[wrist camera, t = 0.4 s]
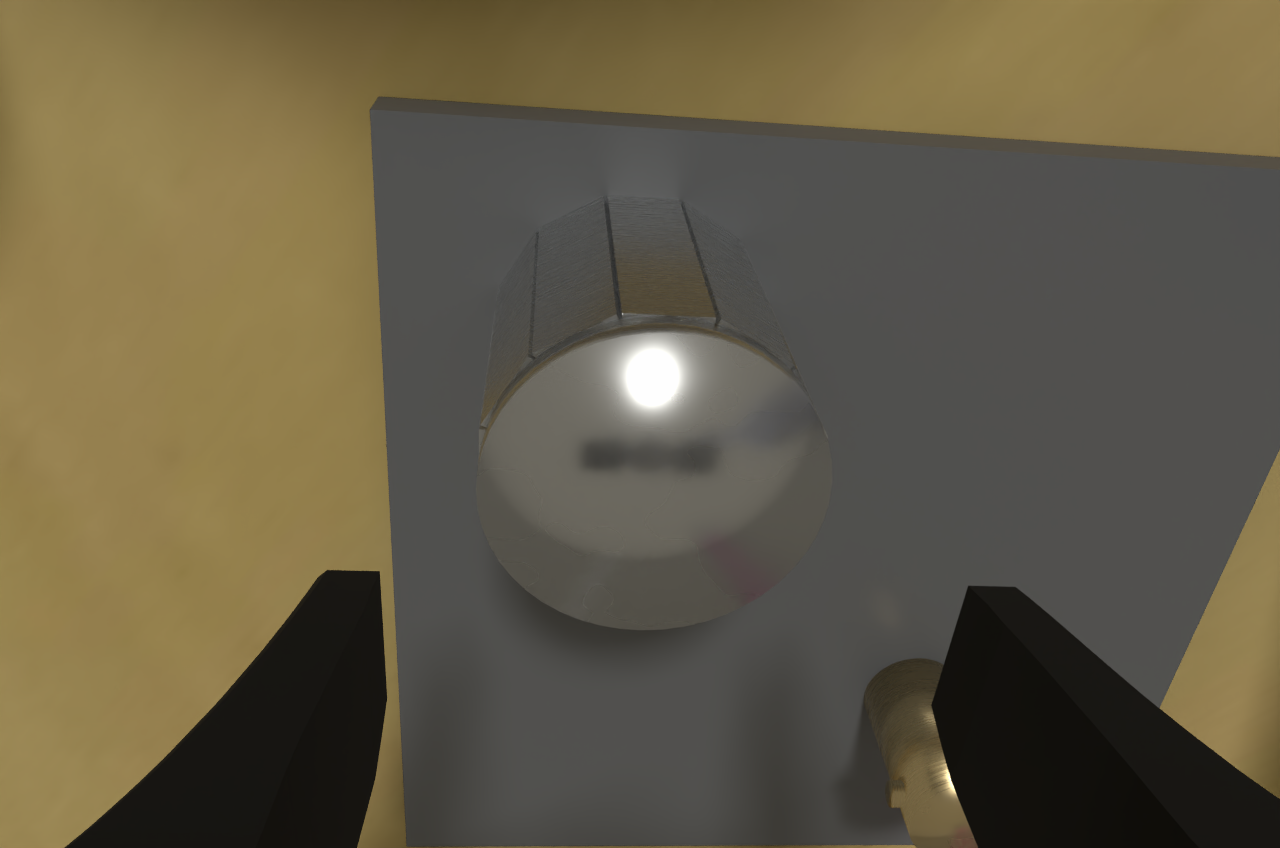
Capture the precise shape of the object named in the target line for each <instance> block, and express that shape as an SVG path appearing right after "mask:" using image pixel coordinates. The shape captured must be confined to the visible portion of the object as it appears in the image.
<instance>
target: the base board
mask: <svg viewBox="0 0 1280 848" xmlns="http://www.w3.org/2000/svg"><path fill="white" fill-rule="evenodd" d="M370 120H371V140H372V160H373V180H374V200H375V220H376V240H377V260H378V280H379V300H380V321H381V341H382V361H383V381H384V401H385V421H386V441H387V461H388V481H389V501H390V522H391V542H392V562H393V582H394V602H395V622H396V642H397V662H398V682H399V703H400V723H401V743H402V763H403V783H404V803H405V823H406V843H407V847H420V846H719V845H914V844H913V842H912V841H911V838H910V836H909V833H908V830H907V827H906V824H905V821H904V818H903V815H902V812H901V810H900V808H890V807H889V806H888V804H887V801H886V796H885V786H886V782H887V781H888V780H890V778H889V775H888V772H887V769H886V766H885V763H884V760H883V757H882V754H881V751H880V749H879V746H878V743H877V740H876V737H875V734H874V731H873V728H872V725H871V722H870V719H869V717H868V714H867V711H866V708H865V705H864V693H865V690H866V687H867V685H868V684H869V682H870V681H871V679H872V678H873V677H874V676H875V675H876V674H877V673H879V672H880V671H881V670H883V669H884V668H886V667H888V666H889V665H891V664H894V663H896V662H899V661H903V660H907V659H915V658H922V659H930V660H934V661H937V662H939V663H941V664H943V665H944V662H945V659H946V656H947V652H948V649H949V646H950V643H951V640H952V636H953V633H954V630H955V627H956V623H957V620H958V617H959V614H960V610H961V607H962V604H963V601H964V598H965V594H966V591H967V588H968V586H1005V587H1016V588H1018V589H1019V590H1020V591H1021V592H1023V593H1024V594H1025V595H1026V596H1028V597H1029V598H1030V599H1031V600H1033V601H1034V602H1035V603H1036V604H1038V605H1039V606H1040V607H1041V608H1042V609H1043V610H1045V611H1046V612H1047V613H1048V614H1049V615H1051V616H1052V617H1053V618H1054V619H1055V620H1056V621H1058V622H1059V623H1060V624H1061V625H1062V626H1063V627H1064V628H1066V629H1067V630H1068V631H1069V632H1070V633H1071V634H1073V635H1074V636H1075V637H1076V638H1077V639H1078V640H1079V641H1081V642H1082V643H1083V644H1084V645H1085V646H1086V647H1088V648H1089V649H1090V650H1091V651H1092V652H1093V653H1094V654H1096V655H1097V656H1098V657H1099V658H1100V659H1101V660H1103V661H1104V662H1105V663H1106V664H1107V665H1108V666H1110V667H1111V668H1112V669H1113V670H1114V671H1115V672H1117V673H1118V674H1119V675H1120V676H1121V677H1122V678H1124V679H1125V680H1126V681H1127V682H1128V683H1129V684H1131V685H1132V686H1133V687H1134V688H1135V689H1137V690H1138V691H1139V692H1140V693H1141V694H1143V695H1144V696H1145V697H1146V698H1147V699H1149V700H1150V701H1151V702H1152V703H1153V704H1155V705H1156V706H1157V707H1158V708H1160V705H1161V703H1162V701H1163V699H1164V697H1165V695H1166V693H1167V690H1168V688H1169V686H1170V684H1171V682H1172V680H1173V677H1174V675H1175V673H1176V671H1177V669H1178V667H1179V665H1180V662H1181V660H1182V658H1183V656H1184V654H1185V652H1186V649H1187V647H1188V645H1189V643H1190V641H1191V639H1192V637H1193V634H1194V632H1195V630H1196V628H1197V626H1198V624H1199V621H1200V619H1201V617H1202V615H1203V613H1204V611H1205V609H1206V606H1207V604H1208V602H1209V600H1210V598H1211V596H1212V594H1213V591H1214V589H1215V587H1216V585H1217V583H1218V581H1219V578H1220V576H1221V574H1222V572H1223V570H1224V568H1225V566H1226V563H1227V561H1228V559H1229V557H1230V555H1231V553H1232V550H1233V548H1234V546H1235V544H1236V542H1237V540H1238V538H1239V535H1240V533H1241V531H1242V529H1243V527H1244V525H1245V523H1246V520H1247V518H1248V516H1249V514H1250V512H1251V510H1252V507H1253V505H1254V503H1255V501H1256V499H1257V497H1258V495H1259V492H1260V490H1261V488H1262V486H1263V484H1264V482H1265V479H1266V477H1267V475H1268V473H1269V471H1270V469H1271V467H1272V464H1273V462H1274V460H1275V458H1276V456H1277V454H1278V451H1279V449H1280V157H1266V156H1251V155H1237V154H1222V153H1207V152H1192V151H1177V150H1162V149H1148V148H1133V147H1118V146H1103V145H1088V144H1074V143H1059V142H1044V141H1029V140H1014V139H999V138H985V137H970V136H955V135H940V134H925V133H911V132H896V131H881V130H866V129H851V128H836V127H822V126H807V125H792V124H777V123H762V122H748V121H733V120H718V119H703V118H688V117H673V116H659V115H644V114H629V113H614V112H599V111H584V110H570V109H555V108H540V107H525V106H510V105H496V104H481V103H466V102H451V101H436V100H421V99H407V98H392V97H378V98H377V100H376V101H375V103H374V104H373V106H372V107H371V109H370ZM608 195H614V196H631V197H647V198H664V199H679V201H680V204H681V203H682V202H683V201H684V202H686V203H687V204H689V205H690V206H692V207H693V208H695V209H696V210H698V211H699V212H701V213H702V214H704V215H705V216H707V217H708V218H710V219H711V220H713V221H714V222H716V223H717V224H719V225H720V226H722V227H723V228H725V229H726V230H728V231H729V232H731V233H732V234H734V235H735V236H737V237H738V238H740V240H741V242H743V244H744V247H745V249H746V251H747V253H748V256H749V258H750V260H751V262H752V265H753V267H754V269H755V271H756V274H757V276H758V278H759V280H760V283H761V285H762V287H763V289H764V292H765V294H766V296H767V298H768V301H769V303H770V305H771V308H772V310H773V312H774V314H775V317H776V319H777V321H778V324H779V326H780V328H781V331H782V333H783V335H784V337H785V340H786V342H787V344H788V347H789V349H790V351H791V353H792V356H793V358H794V360H795V363H796V365H797V367H798V370H799V372H800V374H801V376H802V379H803V381H804V383H805V386H806V388H807V390H808V393H809V395H810V397H811V399H812V402H813V404H814V406H815V409H816V411H817V413H818V416H819V418H820V420H821V422H822V425H823V427H824V429H825V432H826V434H827V436H828V438H827V440H828V442H829V449H830V454H831V460H832V487H831V494H830V501H829V504H828V508H827V511H826V515H825V518H824V520H823V523H822V525H821V527H820V529H819V532H818V534H817V536H816V538H815V539H814V541H813V543H812V544H811V546H810V547H809V549H808V550H807V552H806V554H805V555H804V556H803V557H802V558H801V560H800V561H799V562H798V563H797V565H796V566H795V567H794V568H793V569H792V570H791V571H790V572H789V573H788V574H787V575H786V576H785V577H784V578H783V579H782V580H781V581H780V582H779V583H777V584H776V585H775V586H774V587H772V588H771V589H770V590H768V591H767V592H766V593H764V594H763V595H762V596H760V597H758V598H757V599H755V600H753V601H752V602H750V603H748V604H747V605H745V606H743V607H741V608H739V609H737V610H734V611H732V612H730V613H728V614H726V615H723V616H720V617H717V618H714V619H712V620H709V621H706V622H702V623H698V624H694V625H689V626H685V627H678V628H671V629H663V630H629V629H618V628H612V627H606V626H601V625H596V624H593V623H589V622H586V621H582V620H579V619H576V618H574V617H572V616H569V615H567V614H564V613H562V612H559V611H558V610H556V609H554V608H552V607H550V606H549V605H547V604H545V603H543V602H541V601H540V600H539V599H537V598H536V597H535V596H533V595H532V594H530V593H529V592H528V591H526V590H525V589H524V588H523V587H522V586H521V585H520V584H519V583H518V582H517V581H515V580H514V579H513V578H512V577H511V576H510V574H509V573H508V572H507V571H506V569H505V568H504V567H503V566H502V565H501V563H500V562H499V560H498V559H497V557H496V555H495V554H494V552H493V550H492V549H491V547H490V546H489V543H488V541H487V538H486V536H485V533H484V531H483V529H482V525H481V521H480V517H479V513H478V509H477V496H476V483H477V471H478V462H479V425H480V418H481V411H482V403H483V396H484V389H485V381H486V374H487V367H488V360H489V352H490V345H491V338H492V330H493V323H494V316H495V308H496V301H497V294H498V289H499V285H500V284H501V282H502V281H503V279H504V278H505V276H506V275H507V273H508V272H509V270H510V269H511V267H512V266H513V264H514V262H515V261H516V259H517V258H518V256H519V255H520V253H521V252H522V250H523V249H524V247H525V246H526V244H527V243H528V241H529V240H530V238H531V237H532V235H533V234H534V232H535V231H536V230H537V231H539V227H540V226H543V225H545V224H547V223H549V222H551V221H553V220H555V219H557V218H559V217H561V216H563V215H565V214H567V213H569V212H571V211H573V210H575V209H577V208H580V207H582V206H584V205H586V204H588V203H590V202H592V201H594V200H596V199H598V198H600V197H602V196H603V197H604V199H605V201H606V203H607V196H608Z"/></svg>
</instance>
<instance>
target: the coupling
mask: <svg viewBox="0 0 1280 848" xmlns="http://www.w3.org/2000/svg"><path fill="white" fill-rule="evenodd" d="M827 438H828V436H827V434H826V432H825V429H824V427H823V425H822V422H821V420H820V418H819V416H818V413H817V411H816V409H815V406H814V404H813V402H812V399H811V397H810V395H809V393H808V390H807V388H806V386H805V383H804V381H803V379H802V376H801V374H800V372H799V370H798V367H797V365H796V363H795V360H794V358H793V356H792V353H791V351H790V349H789V347H788V344H787V342H786V340H785V337H784V335H783V333H782V331H781V328H780V326H779V324H778V321H777V319H776V317H775V314H774V312H773V310H772V308H771V305H770V303H769V301H768V298H767V296H766V294H765V292H764V289H763V287H762V285H761V283H760V280H759V278H758V276H757V274H756V271H755V269H754V267H753V265H752V262H751V260H750V258H749V256H748V253H747V251H746V249H745V247H744V244H743V242H741V240H740V238H738V237H737V236H735V235H734V234H732V233H731V232H729V231H728V230H726V229H725V228H723V227H722V226H720V225H719V224H717V223H716V222H714V221H713V220H711V219H710V218H708V217H707V216H705V215H704V214H702V213H701V212H699V211H698V210H696V209H695V208H693V207H692V206H690V205H689V204H687V203H686V202H684V201H683V202H682V203H681V204H680V201H679V199H664V198H647V197H631V196H614V195H608V196H607V203H606V201H605V199H604V197H603V196H602V197H600V198H598V199H596V200H594V201H592V202H590V203H588V204H586V205H584V206H582V207H580V208H577V209H575V210H573V211H571V212H569V213H567V214H565V215H563V216H561V217H559V218H557V219H555V220H553V221H551V222H549V223H547V224H545V225H543V226H540V227H539V231H537V230H536V231H535V232H534V234H533V235H532V237H531V238H530V240H529V241H528V243H527V244H526V246H525V247H524V249H523V250H522V252H521V253H520V255H519V256H518V258H517V259H516V261H515V262H514V264H513V266H512V267H511V269H510V270H509V272H508V273H507V275H506V276H505V278H504V279H503V281H502V282H501V284H500V285H499V289H498V294H497V301H496V308H495V316H494V323H493V330H492V338H491V345H490V352H489V360H488V367H487V374H486V381H485V389H484V396H483V403H482V411H481V418H480V425H479V462H478V471H477V483H476V496H477V509H478V513H479V517H480V521H481V525H482V529H483V531H484V533H485V536H486V538H487V541H488V543H489V546H490V547H491V549H492V550H493V552H494V554H495V555H496V557H497V559H498V560H499V562H500V563H501V565H502V566H503V567H504V568H505V569H506V571H507V572H508V573H509V574H510V576H511V577H512V578H513V579H514V580H515V581H517V582H518V583H519V584H520V585H521V586H522V587H523V588H524V589H525V590H526V591H528V592H529V593H530V594H532V595H533V596H535V597H536V598H537V599H539V600H540V601H541V602H543V603H545V604H547V605H549V606H550V607H552V608H554V609H556V610H558V611H559V612H562V613H564V614H567V615H569V616H572V617H574V618H576V619H579V620H582V621H586V622H589V623H593V624H596V625H601V626H606V627H612V628H618V629H629V630H663V629H671V628H678V627H685V626H689V625H694V624H698V623H702V622H706V621H709V620H712V619H714V618H717V617H720V616H723V615H726V614H728V613H730V612H732V611H734V610H737V609H739V608H741V607H743V606H745V605H747V604H748V603H750V602H752V601H753V600H755V599H757V598H758V597H760V596H762V595H763V594H764V593H766V592H767V591H768V590H770V589H771V588H772V587H774V586H775V585H776V584H777V583H779V582H780V581H781V580H782V579H783V578H784V577H785V576H786V575H787V574H788V573H789V572H790V571H791V570H792V569H793V568H794V567H795V566H796V565H797V563H798V562H799V561H800V560H801V558H802V557H803V556H804V555H805V554H806V552H807V550H808V549H809V547H810V546H811V544H812V543H813V541H814V539H815V538H816V536H817V534H818V532H819V529H820V527H821V525H822V523H823V520H824V518H825V515H826V511H827V508H828V504H829V501H830V494H831V487H832V460H831V454H830V449H829V442H828V440H827Z"/></svg>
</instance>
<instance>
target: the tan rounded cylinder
mask: <svg viewBox="0 0 1280 848" xmlns="http://www.w3.org/2000/svg"><path fill="white" fill-rule="evenodd" d="M942 669H943V664H941V663H939V662H937V661H934V660H930V659H922V658H915V659H907V660H903V661H899V662H896V663H894V664H891V665H889V666H888V667H886V668H884V669H883V670H881V671H880V672H879V673H877V674H876V675H875V676H874V677H873V678H872V679H871V681H870V682H869V684H868V685H867V687H866V690H865V693H864V705H865V708H866V711H867V714H868V717H869V719H870V722H871V725H872V728H873V731H874V734H875V737H876V740H877V743H878V746H879V749H880V751H881V754H882V757H883V760H884V763H885V766H886V769H887V772H888V775H889V778H890V780H888V781H887V782H886V786H885V796H886V801H887V804H888V806H889V807H890V808H900V810H901V812H902V815H903V818H904V821H905V824H906V827H907V830H908V833H909V836H910V838H911V841H912V842H913V844H914V845H915V846H916V847H917V848H978V846H977V844H976V841H975V839H974V836H973V834H972V832H971V829H970V827H969V824H968V822H967V819H966V817H965V814H964V812H963V809H962V807H961V804H960V802H959V800H958V797H957V794H956V792H955V789H954V787H953V784H952V782H951V778H950V775H949V771H948V768H947V764H946V761H945V757H944V754H943V750H942V746H941V742H940V738H939V734H938V730H937V726H936V722H935V718H934V714H933V710H932V706H931V704H932V701H933V698H934V695H935V691H936V688H937V685H938V682H939V678H940V675H941V672H942Z"/></svg>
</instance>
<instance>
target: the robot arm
mask: <svg viewBox="0 0 1280 848" xmlns="http://www.w3.org/2000/svg"><path fill="white" fill-rule="evenodd" d="M386 702H387V689H386V672H385V655H384V638H383V621H382V604H381V587H380V571H341V570H327V571H325V572H324V573H323V574H322V575H320V576H319V577H318V578H317V579H316V581H315V582H314V584H313V585H312V586H311V588H310V589H309V591H308V592H307V593H306V595H305V596H304V597H303V599H302V600H301V601H300V603H299V604H298V605H297V607H296V608H295V609H294V611H293V612H292V613H291V615H290V616H289V617H288V619H287V620H286V621H285V623H284V624H283V625H282V626H281V628H280V629H279V630H278V631H277V633H276V634H275V635H274V636H273V638H272V639H271V640H270V641H269V643H268V644H267V645H266V646H265V648H264V649H263V650H262V651H261V652H260V654H259V655H258V656H257V657H256V658H255V659H254V661H253V662H252V663H251V664H250V665H249V667H248V668H247V669H246V670H245V671H244V672H243V674H242V675H241V676H240V677H239V678H238V679H237V681H236V682H235V683H234V684H233V685H232V686H231V688H230V689H229V690H228V691H227V692H226V693H225V694H224V696H223V697H222V698H221V699H220V700H219V701H218V702H217V703H216V705H215V706H214V707H213V708H212V709H211V710H210V711H209V712H208V713H207V714H206V715H205V716H204V717H203V718H202V719H201V720H200V721H199V722H198V723H197V725H196V726H195V727H194V728H193V729H192V730H191V731H190V732H189V733H188V734H187V735H186V736H185V737H184V738H183V739H182V740H181V741H180V742H179V743H178V744H177V745H176V747H175V748H174V749H173V750H172V751H171V752H170V753H169V754H168V755H167V756H166V757H165V758H164V759H163V760H162V761H161V762H160V763H159V764H158V765H157V766H156V767H155V768H154V769H153V770H152V771H150V772H149V773H148V774H147V775H146V776H145V777H144V778H143V779H142V780H141V781H140V782H139V783H138V784H137V785H136V786H135V787H134V788H133V789H132V790H130V791H129V792H128V793H127V794H126V795H125V796H124V797H123V798H122V799H121V800H119V801H118V802H117V803H116V804H115V805H114V806H113V807H112V808H111V809H109V810H108V811H107V812H106V813H105V814H104V815H103V816H102V817H100V818H99V819H98V820H97V821H96V822H95V823H94V824H93V825H91V826H90V827H89V828H88V829H87V830H85V831H84V832H83V833H82V834H81V835H79V836H78V837H77V838H76V839H75V840H73V841H72V842H71V843H70V844H68V845H67V846H66V847H65V848H357V845H358V842H359V838H360V834H361V830H362V827H363V823H364V819H365V815H366V811H367V808H368V804H369V800H370V796H371V792H372V789H373V785H374V781H375V776H376V770H377V763H378V757H379V751H380V744H381V737H382V730H383V723H384V716H385V709H386ZM931 706H932V710H933V714H934V718H935V722H936V726H937V730H938V734H939V738H940V742H941V746H942V750H943V754H944V757H945V761H946V764H947V768H948V771H949V775H950V778H951V782H952V784H953V787H954V789H955V792H956V794H957V797H958V800H959V802H960V804H961V807H962V809H963V812H964V814H965V817H966V819H967V822H968V824H969V827H970V829H971V832H972V834H973V836H974V839H975V841H976V844H977V846H978V848H1280V799H1279V798H1277V797H1276V796H1274V795H1273V794H1271V793H1270V792H1268V791H1267V790H1266V789H1264V788H1263V787H1261V786H1260V785H1259V784H1257V783H1256V782H1254V781H1253V780H1252V779H1250V778H1249V777H1247V776H1246V775H1245V774H1243V773H1242V772H1241V771H1239V770H1238V769H1236V768H1235V767H1234V766H1233V765H1231V764H1230V763H1229V762H1227V761H1226V760H1225V759H1223V758H1222V757H1221V756H1219V755H1218V754H1217V753H1215V752H1214V751H1213V750H1212V749H1210V748H1209V747H1208V746H1206V745H1205V744H1204V743H1202V742H1201V741H1200V740H1198V739H1197V738H1196V737H1195V736H1193V735H1192V734H1191V733H1189V732H1188V731H1187V730H1186V729H1184V728H1183V727H1182V726H1181V725H1179V724H1178V723H1177V722H1176V721H1174V720H1173V719H1172V718H1171V717H1169V716H1168V715H1167V714H1166V713H1164V712H1163V711H1162V710H1161V709H1159V708H1158V707H1157V706H1156V705H1155V704H1153V703H1152V702H1151V701H1150V700H1149V699H1147V698H1146V697H1145V696H1144V695H1143V694H1141V693H1140V692H1139V691H1138V690H1137V689H1135V688H1134V687H1133V686H1132V685H1131V684H1129V683H1128V682H1127V681H1126V680H1125V679H1124V678H1122V677H1121V676H1120V675H1119V674H1118V673H1117V672H1115V671H1114V670H1113V669H1112V668H1111V667H1110V666H1108V665H1107V664H1106V663H1105V662H1104V661H1103V660H1101V659H1100V658H1099V657H1098V656H1097V655H1096V654H1094V653H1093V652H1092V651H1091V650H1090V649H1089V648H1088V647H1086V646H1085V645H1084V644H1083V643H1082V642H1081V641H1079V640H1078V639H1077V638H1076V637H1075V636H1074V635H1073V634H1071V633H1070V632H1069V631H1068V630H1067V629H1066V628H1064V627H1063V626H1062V625H1061V624H1060V623H1059V622H1058V621H1056V620H1055V619H1054V618H1053V617H1052V616H1051V615H1049V614H1048V613H1047V612H1046V611H1045V610H1043V609H1042V608H1041V607H1040V606H1039V605H1038V604H1036V603H1035V602H1034V601H1033V600H1031V599H1030V598H1029V597H1028V596H1026V595H1025V594H1024V593H1023V592H1021V591H1020V590H1019V589H1018V588H1016V587H1005V586H968V588H967V591H966V594H965V598H964V601H963V604H962V607H961V610H960V614H959V617H958V620H957V623H956V627H955V630H954V633H953V636H952V640H951V643H950V646H949V649H948V652H947V656H946V659H945V662H944V665H943V669H942V672H941V675H940V678H939V682H938V685H937V688H936V691H935V695H934V698H933V701H932V704H931Z"/></svg>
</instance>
